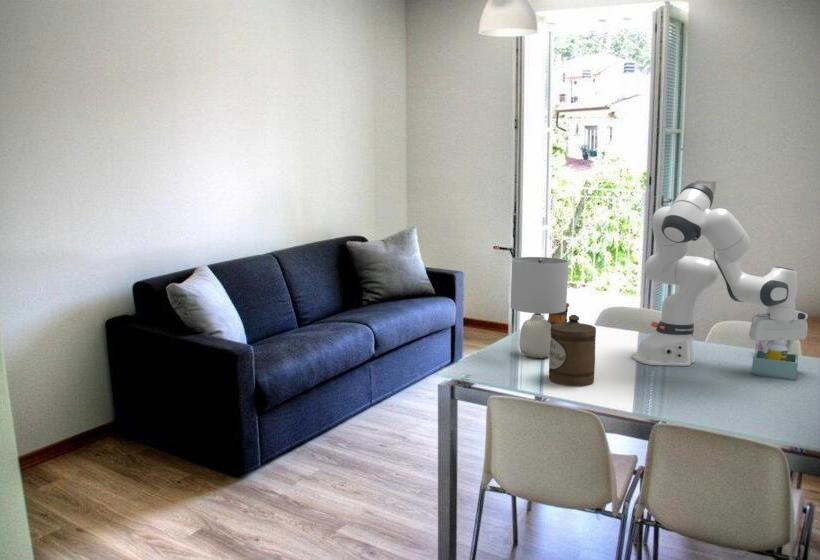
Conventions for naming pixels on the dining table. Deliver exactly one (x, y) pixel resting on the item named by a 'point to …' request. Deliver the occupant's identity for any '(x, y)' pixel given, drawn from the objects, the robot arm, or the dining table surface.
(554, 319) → the mug
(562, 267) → the lamp
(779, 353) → the pill bottle
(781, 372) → the caddy
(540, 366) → the dining table surface
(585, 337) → the wooden container
